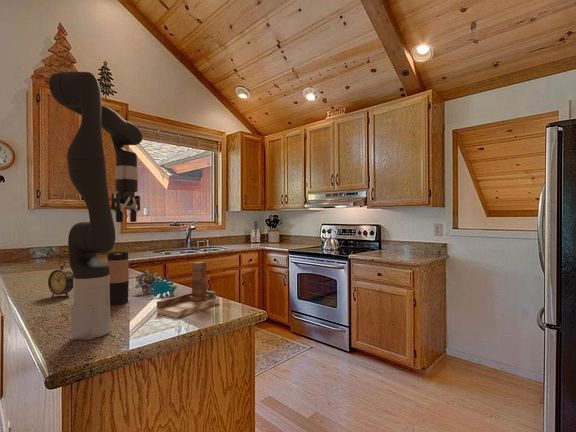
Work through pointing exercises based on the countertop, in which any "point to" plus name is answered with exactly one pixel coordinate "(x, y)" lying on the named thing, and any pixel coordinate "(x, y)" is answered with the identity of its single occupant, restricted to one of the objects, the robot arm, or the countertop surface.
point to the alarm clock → (61, 281)
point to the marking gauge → (198, 282)
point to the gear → (162, 287)
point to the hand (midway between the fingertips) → (126, 222)
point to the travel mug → (118, 277)
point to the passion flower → (147, 281)
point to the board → (184, 304)
